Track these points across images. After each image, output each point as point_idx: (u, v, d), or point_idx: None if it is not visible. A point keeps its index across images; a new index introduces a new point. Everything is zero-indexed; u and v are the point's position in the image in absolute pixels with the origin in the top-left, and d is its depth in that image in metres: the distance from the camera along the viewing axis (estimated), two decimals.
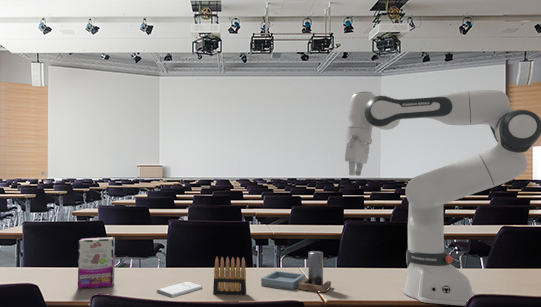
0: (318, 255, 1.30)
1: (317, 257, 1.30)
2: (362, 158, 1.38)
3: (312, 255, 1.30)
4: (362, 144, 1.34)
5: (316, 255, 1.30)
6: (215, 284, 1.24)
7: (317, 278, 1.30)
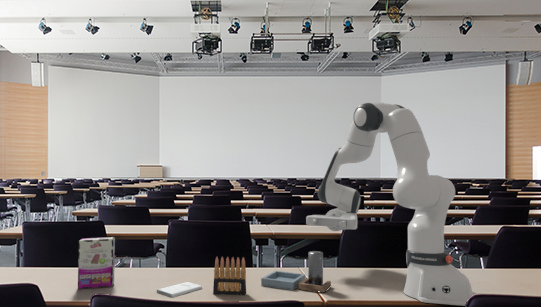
0: (318, 255, 1.30)
1: (317, 257, 1.30)
2: (334, 217, 1.50)
3: (312, 255, 1.30)
4: (328, 214, 1.56)
5: (316, 255, 1.30)
6: (215, 284, 1.24)
7: (317, 278, 1.30)
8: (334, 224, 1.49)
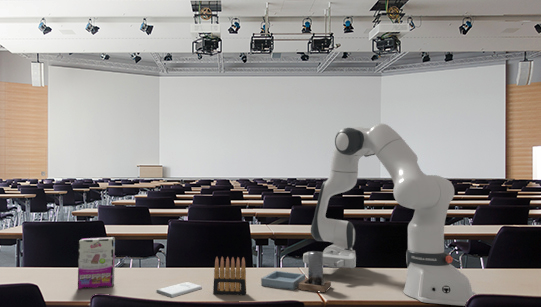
0: (318, 255, 1.30)
1: (317, 257, 1.30)
2: (332, 255, 1.45)
3: (312, 255, 1.30)
4: (326, 251, 1.51)
5: (316, 255, 1.30)
6: (215, 284, 1.24)
7: (317, 278, 1.30)
8: (332, 263, 1.44)
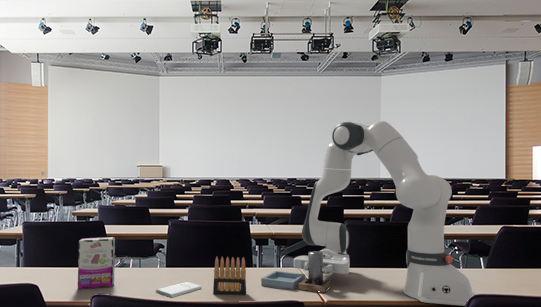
0: (318, 255, 1.30)
1: (317, 257, 1.30)
2: (324, 260, 1.37)
3: (312, 255, 1.30)
4: None
5: (316, 255, 1.30)
6: (215, 284, 1.24)
7: (317, 278, 1.30)
8: None
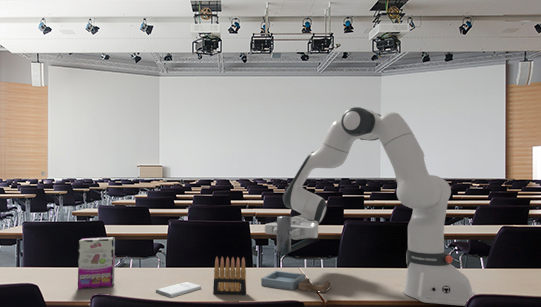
0: (286, 219, 1.36)
1: (285, 221, 1.36)
2: (293, 225, 1.42)
3: (280, 219, 1.36)
4: None
5: (284, 219, 1.36)
6: (215, 284, 1.24)
7: (285, 240, 1.35)
8: None
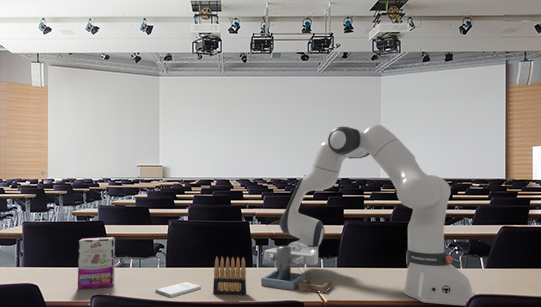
0: (285, 249, 1.35)
1: (284, 251, 1.35)
2: (293, 252, 1.42)
3: (280, 249, 1.36)
4: None
5: (284, 249, 1.35)
6: (215, 284, 1.24)
7: (285, 271, 1.35)
8: (292, 260, 1.41)
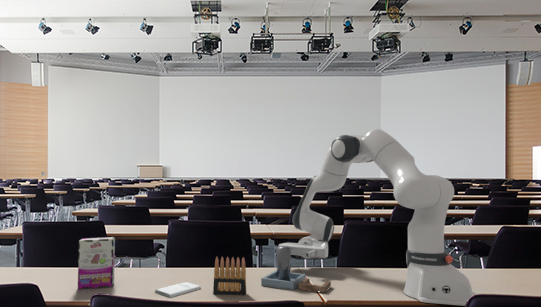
0: (285, 249, 1.35)
1: (284, 251, 1.35)
2: (305, 246, 1.53)
3: (280, 249, 1.36)
4: (300, 242, 1.59)
5: (283, 249, 1.35)
6: (215, 284, 1.24)
7: (285, 271, 1.35)
8: (305, 253, 1.52)
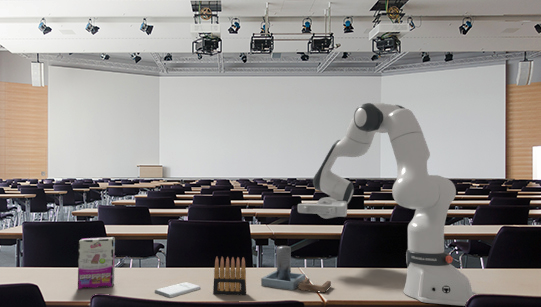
0: (285, 249, 1.35)
1: (284, 251, 1.35)
2: (324, 204, 1.55)
3: (280, 249, 1.36)
4: (319, 202, 1.61)
5: (283, 249, 1.35)
6: (215, 284, 1.24)
7: (285, 271, 1.35)
8: (324, 211, 1.54)
